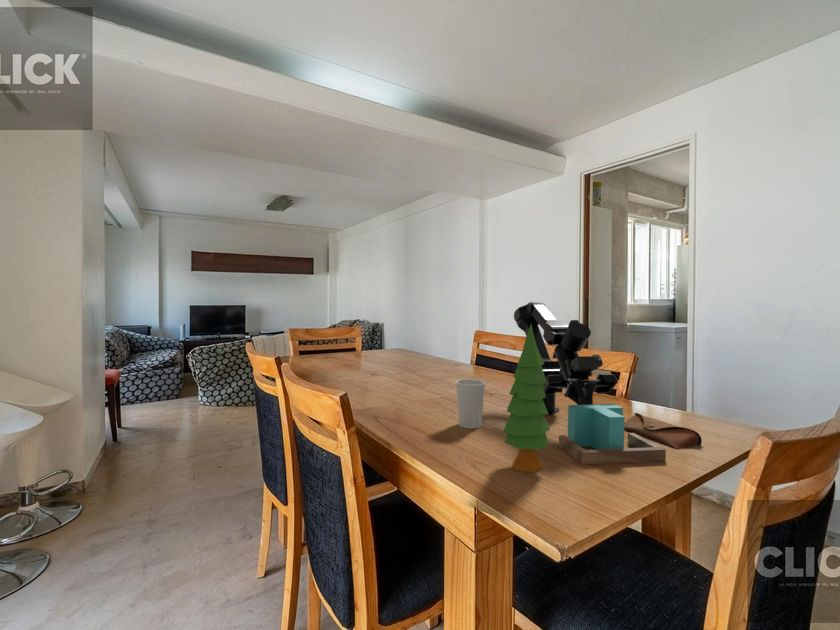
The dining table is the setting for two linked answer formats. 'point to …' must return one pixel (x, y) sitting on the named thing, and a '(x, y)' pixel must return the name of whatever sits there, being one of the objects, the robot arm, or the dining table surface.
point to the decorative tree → (527, 408)
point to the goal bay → (615, 451)
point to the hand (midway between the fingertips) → (590, 413)
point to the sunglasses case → (662, 432)
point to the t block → (596, 425)
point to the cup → (470, 402)
